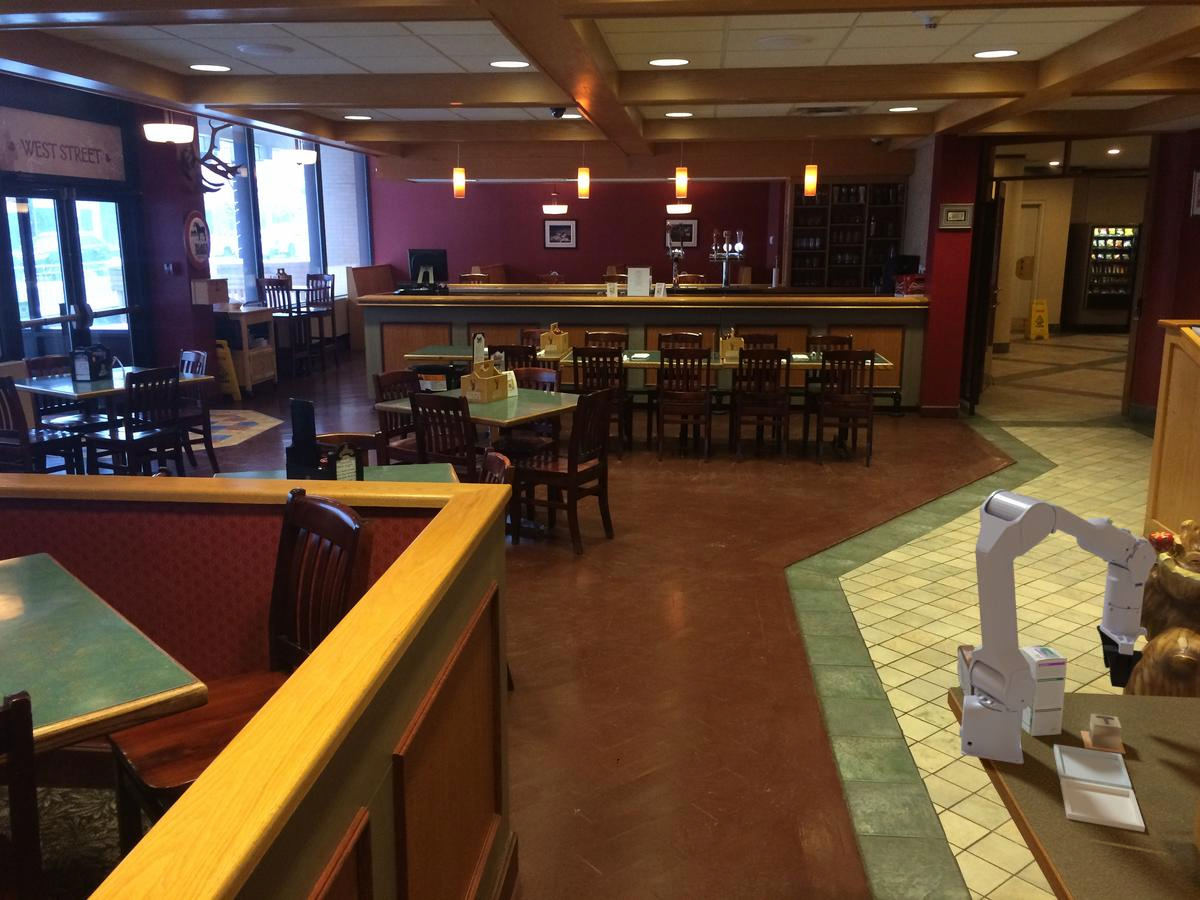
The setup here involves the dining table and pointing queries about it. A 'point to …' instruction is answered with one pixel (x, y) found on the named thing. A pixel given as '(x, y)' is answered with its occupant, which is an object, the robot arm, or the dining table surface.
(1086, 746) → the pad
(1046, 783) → the dining table surface
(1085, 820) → the near tray
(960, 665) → the tin
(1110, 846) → the dining table surface
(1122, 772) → the far tray
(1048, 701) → the syrup box
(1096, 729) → the letter cube
